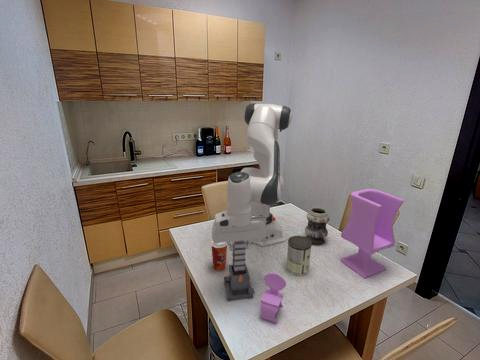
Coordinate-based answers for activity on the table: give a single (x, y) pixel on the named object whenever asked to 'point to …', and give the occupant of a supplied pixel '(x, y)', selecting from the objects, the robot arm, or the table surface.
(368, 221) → the purple pedestal armchair
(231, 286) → the stand
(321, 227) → the apothecary jar
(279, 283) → the toy chair
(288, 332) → the table surface
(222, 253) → the paper cup
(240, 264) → the column
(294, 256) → the coffee can
